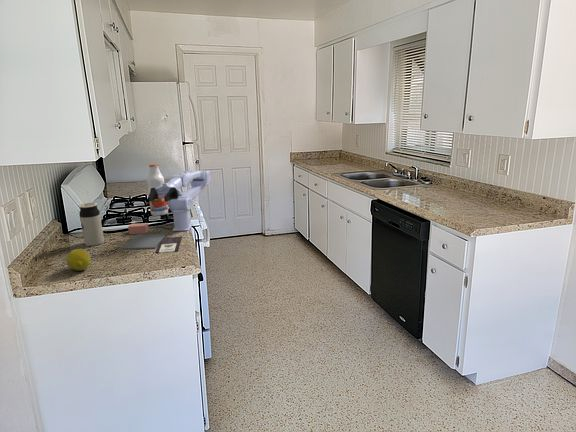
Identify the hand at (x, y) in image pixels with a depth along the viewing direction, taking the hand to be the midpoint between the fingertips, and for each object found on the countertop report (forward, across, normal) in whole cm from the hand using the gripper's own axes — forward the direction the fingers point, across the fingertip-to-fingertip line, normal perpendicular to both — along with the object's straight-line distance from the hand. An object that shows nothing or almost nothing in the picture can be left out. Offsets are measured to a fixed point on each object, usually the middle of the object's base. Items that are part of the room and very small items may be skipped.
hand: (157, 199), depth 171 cm
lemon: (+34, -18, +14) cm, 41 cm away
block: (-9, -20, +21) cm, 30 cm away
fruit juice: (-41, -26, +26) cm, 55 cm away
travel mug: (+8, -31, +18) cm, 37 cm away
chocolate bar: (+5, +4, +20) cm, 21 cm away
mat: (+3, -9, +19) cm, 22 cm away
